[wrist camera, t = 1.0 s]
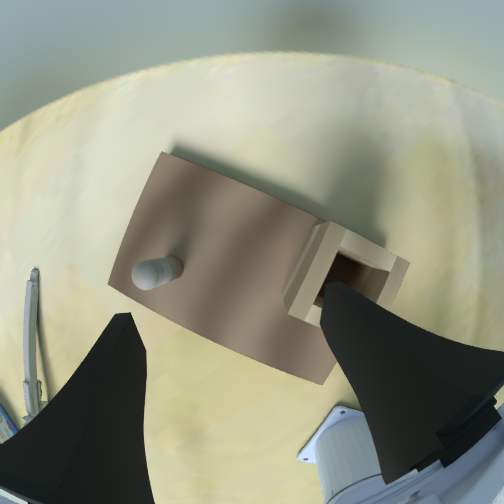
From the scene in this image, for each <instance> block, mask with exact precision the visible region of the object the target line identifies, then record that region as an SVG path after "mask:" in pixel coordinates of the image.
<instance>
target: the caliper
mask: <svg viewBox="0 0 504 504" xmlns="http://www.w3.org/2000/svg"><path fill="white" fill-rule="evenodd" d="M38 273H39V271H38V270H35V269H32V271H31V276H30V280H27V286H26V295H25V308H24V331H23V348H24V372H25V381H23V387H24V397H25V405H26V411H27V413H28V416H24V417H22V418H23V419H24V420H26V422H25V423H24V426H25V425H27V424H28V423H29V422H30V421H31V420H32V419H33V418H34V417H35V416H36V415H37V414H38V413H39V412H40V411H41V410H42V409H43V408H44V407H45V406H46V405H47V404H48V403H49V402H48V401H41V396H42V390H41V381H40V380H38V379H37V369H36V325H37V309H38V297H39V283H38V282H37V281H38Z"/></svg>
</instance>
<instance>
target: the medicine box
mask: <svg viewBox="0 0 504 504" xmlns="http://www.w3.org/2000/svg"><path fill="white" fill-rule="evenodd" d="M17 432H18V429H17V428H16V426H15V425H14V424H13V422H12V421H11V420H10V418H9V417H8V415H7V414H6V412H5V411H4V409H3V408H2V406H1V404H0V444H2V443H3V442H5V441H6V440H8V439H9V438H10V437H12V436H13V435H14V434H16V433H17Z"/></svg>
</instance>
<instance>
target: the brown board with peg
mask: <svg viewBox="0 0 504 504" xmlns="http://www.w3.org/2000/svg"><path fill="white" fill-rule="evenodd" d="M322 223H325V221H323V220H321V219H319V218H317V217H315V216H313V215H311V214H309V213H307V212H305V211H303V210H300V209H298V208H296V207H294V206H292V205H290V204H288V203H285V202H283V201H281V200H279V199H277V198H274V197H272V196H270V195H268V194H266V193H263V192H261V191H259V190H256V189H254V188H252V187H250V186H247V185H245V184H243V183H240V182H238V181H235V180H233V179H231V178H228V177H226V176H224V175H221V174H219V173H216V172H214V171H211V170H209V169H206V168H204V167H201V166H199V165H196V164H194V163H191V162H189V161H186V160H183V159H181V158H178V157H175V156H173V155H170V154H167V153H165V152H162V151H161V153H160V155H159V157H158V159H157V161H156V163H155V165H154V167H153V170H152V172H151V174H150V176H149V178H148V180H147V182H146V185H145V187H144V189H143V191H142V193H141V196H140V198H139V200H138V203H137V205H136V207H135V210H134V212H133V215H132V217H131V220H130V222H129V225H128V227H127V230H126V232H125V235H124V238H123V240H122V243H121V246H120V248H119V251H118V254H117V257H116V260H115V263H114V266H113V269H112V272H111V275H110V278H109V281H108V285H109V286H111V287H113V288H114V289H116V290H118V291H119V292H121V293H123V294H124V295H126V296H128V297H129V298H131V299H133V300H135V301H136V302H138V303H140V304H142V305H143V306H145V307H147V308H149V309H151V310H152V311H154V312H156V313H158V314H160V315H161V316H163V317H165V318H167V319H169V320H171V321H173V322H175V323H177V324H179V325H181V326H182V327H184V328H186V329H188V330H190V331H192V332H194V333H196V334H199V335H201V336H203V337H205V338H207V339H209V340H211V341H213V342H215V343H217V344H220V345H222V346H224V347H226V348H228V349H231V350H233V351H235V352H237V353H240V354H242V355H244V356H247V357H249V358H251V359H254V360H256V361H258V362H261V363H263V364H266V365H268V366H271V367H273V368H276V369H278V370H281V371H283V372H286V373H289V374H291V375H294V376H297V377H299V378H302V379H305V380H308V381H311V382H314V383H316V384H319V385H323V384H324V382H325V380H326V379H327V377H328V376H329V374H330V372H331V371H332V369H333V367H334V366H335V364H336V362H337V360H336V358H335V356H334V355H333V353H332V351H331V349H330V347H329V346H328V343H327V341H326V339H325V336H324V334H323V331H322V329H321V328H320V327H317V326H315V325H313V324H310V323H308V322H305V321H303V320H301V319H299V318H296V317H294V316H292V315H289V314H287V310H286V307H285V304H284V300H283V297H282V294H281V293H282V291H283V289H284V287H285V284H286V282H287V280H288V278H289V276H290V274H291V272H292V270H293V267H294V265H295V263H296V261H297V259H298V257H299V255H300V252H301V250H302V248H303V246H304V244H305V241H306V239H307V237H308V235H309V232H310V230H311V228H312V227H313V226H316V225H319V224H322ZM356 265H357V263H355V262H353V261H351V260H349V259H347V258H345V257H343V256H341V255H339V254H336V256H335V258H334V260H333V262H332V265H331V267H330V269H329V271H328V273H327V275H326V278H325V280H324V282H323V284H322V286H321V288H320V290H319V292H318V294H317V295H319V296H321V297H324V292H325V285H326V284H328V283H333V282H338V281H340V282H342V283H344V284H346V285H348V283H349V281H350V278H351V276H352V274H353V272H354V270H355V267H356Z"/></svg>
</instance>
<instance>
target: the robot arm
mask: <svg viewBox="0 0 504 504" xmlns="http://www.w3.org/2000/svg"><path fill="white" fill-rule="evenodd" d="M319 324H320V326H321V329H322V331H323V334H324V336H325V339H326V341H327V343H328V346H329V347H330V349H331V351H332V353H333V355H334V356H335V358H336V360H337V362H338V363H339V365H340V367H341V369H342V370H343V372H344V374H345V376H346V377H347V379H348V381H349V383H350V384H351V386H352V388H353V390H354V392H355V394H356V396H357V398H358V401H359V403H360V406H361V408H362V411H363V412H361V411H358V410H354V409H350V408H347V407H343V406H336V407H334V408H333V410H332V411H331V413H330V414H329V416H328V417H327V418H326V420H325V421H324V422H323V424H322V425H321V426H320V428H319V429H318V430H317V432H316V433H315V434H314V435H313V437H312V438H311V439H310V441H309V442H308V443H307V444H306V446H305V447H304V448H303V449H302V450H301V452H300V453H299V454H298V455H297V460H299V461H303V462H307V463H312V464H316V465H317V470H318V475H319V480H320V485H321V490H322V495H323V500H324V504H491V503H492V502H493V500H494V499H495V498H496V496H497V495H498V493H499V492H500V490H501V489H502V488H503V486H504V403H503V404H502V405H501V406H500V407H499V408H498V409H497V410H496V409H495V407H494V405H495V404H496V403H497V400H496V399H495V398H494V395H495V394H496V393H497V392H498V391H499V389H500V388H501V387H502V386H503V385H504V352H503V351H496V350H489V349H483V348H478V347H474V346H470V345H466V344H462V343H459V342H455V341H452V340H450V339H447V338H444V337H441V336H438V335H436V334H433V333H431V332H429V331H426V330H424V329H422V328H420V327H418V326H416V325H414V324H412V323H410V322H408V321H406V320H404V319H402V318H400V317H398V316H397V315H395V314H393V313H391V312H390V311H388V310H386V309H385V308H383V307H381V306H380V305H378V304H376V303H375V302H373V301H372V300H370V299H368V298H367V297H365V296H364V295H362V294H360V293H359V292H357V291H356V290H354V289H352V288H351V287H349V286H347V285H346V284H344V283H342V282H340V281H338V282H333V283H328V284H326V285H325V292H324V299H323V305H322V311H321V317H320V323H319ZM146 379H147V360H146V349H145V347H144V344H143V342H142V340H141V337H140V335H139V332H138V330H137V327H136V325H135V322H134V320H133V317H132V315H131V312H129V313H119V314H115V315H114V316H113V318H112V319H111V321H110V322H109V324H108V325H107V326H106V328H105V329H104V331H103V332H102V334H101V335H100V337H99V338H98V340H97V341H96V343H95V344H94V346H93V347H92V348H91V350H90V351H89V353H88V354H87V356H86V357H85V359H84V360H83V361H82V363H81V364H80V365H79V367H78V368H77V369H76V371H75V372H74V374H73V375H72V376H71V378H70V379H69V380H68V381H67V383H66V384H65V385H64V386H63V388H62V389H61V390H60V391H59V392H58V393H57V395H56V396H55V397H54V398H53V399H52V400H51V401H50V402H49V403H48V404H47V405H46V406H45V407H44V408H43V409H42V410H41V411H40V412H39V413H38V414H37V415H36V416H35V417H34V418H33V419H32V420H31V421H30V422H29V423H28V424H27V425H25V426H24V427H23V428H22V429H21V430H19V431H18V432H17V433H16V434H14V435H13V436H12V437H10V438H9V439H8V440H6V441H5V442H3V443H2V444H0V489H2V490H4V491H6V492H8V493H10V494H12V495H14V496H16V497H18V498H20V499H22V500H24V501H26V502H28V504H155V502H154V498H153V494H152V490H151V485H150V480H149V475H148V469H147V462H146V455H145V445H144V426H143V425H144V406H145V393H146ZM341 411H344V412H342V413H340V412H341ZM0 504H18V503H16V502H14V501H12V500H10V499H8V498H6V497H4V496H2V495H0Z"/></svg>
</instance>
